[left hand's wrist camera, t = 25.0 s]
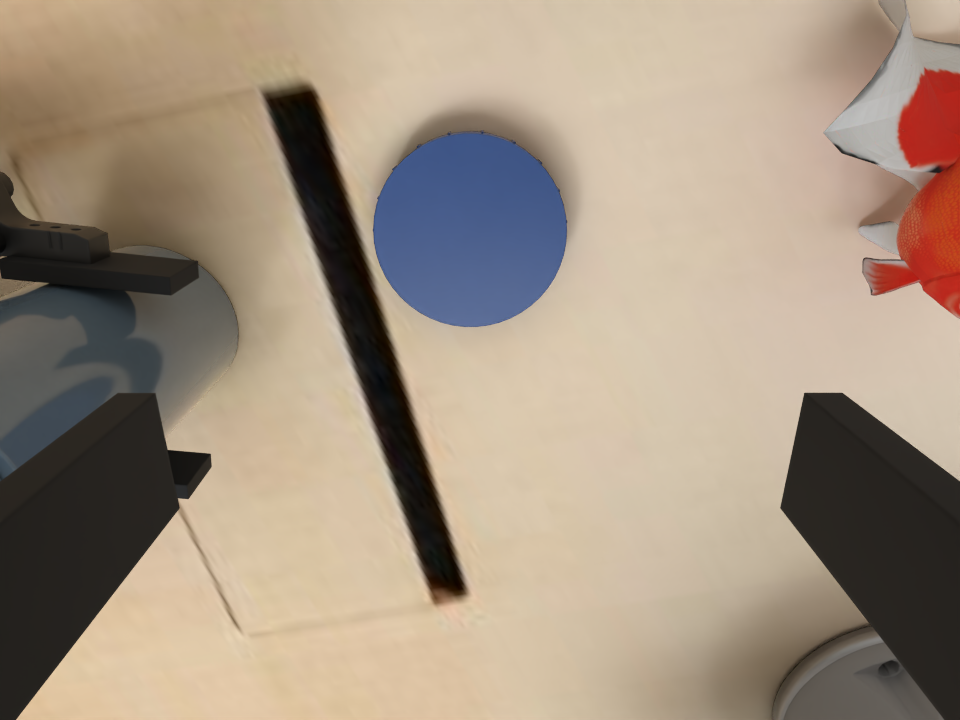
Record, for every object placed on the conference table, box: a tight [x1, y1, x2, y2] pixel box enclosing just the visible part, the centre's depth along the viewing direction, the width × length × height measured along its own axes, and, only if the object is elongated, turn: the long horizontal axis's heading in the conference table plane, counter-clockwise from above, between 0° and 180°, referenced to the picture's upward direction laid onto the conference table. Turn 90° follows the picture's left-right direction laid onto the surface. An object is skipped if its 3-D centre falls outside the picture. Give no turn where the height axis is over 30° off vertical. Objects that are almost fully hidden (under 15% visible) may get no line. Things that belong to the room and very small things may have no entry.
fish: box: [823, 0, 960, 319], centre depth 27 cm, size 11×16×10 cm
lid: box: [373, 130, 567, 327], centre depth 31 cm, size 9×10×2 cm
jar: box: [0, 245, 238, 481], centre depth 25 cm, size 9×9×18 cm
